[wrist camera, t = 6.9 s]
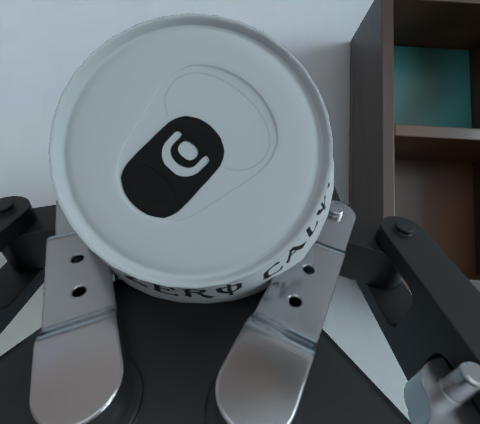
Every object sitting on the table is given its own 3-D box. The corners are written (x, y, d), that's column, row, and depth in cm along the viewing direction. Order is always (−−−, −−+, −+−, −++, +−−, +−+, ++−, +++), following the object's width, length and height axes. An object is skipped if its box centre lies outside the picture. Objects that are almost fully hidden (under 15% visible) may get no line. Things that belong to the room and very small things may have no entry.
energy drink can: (285, 216, 20) (439, 134, 5) (225, 283, 19) (200, 412, 4) (220, 158, 20) (185, -80, 5) (160, 221, 20) (-67, 153, 5)
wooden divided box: (348, 278, 20) (382, 288, 15) (350, 41, 21) (381, -14, 17) (479, 284, 20) (553, 297, 15) (470, 48, 22) (533, -5, 17)
